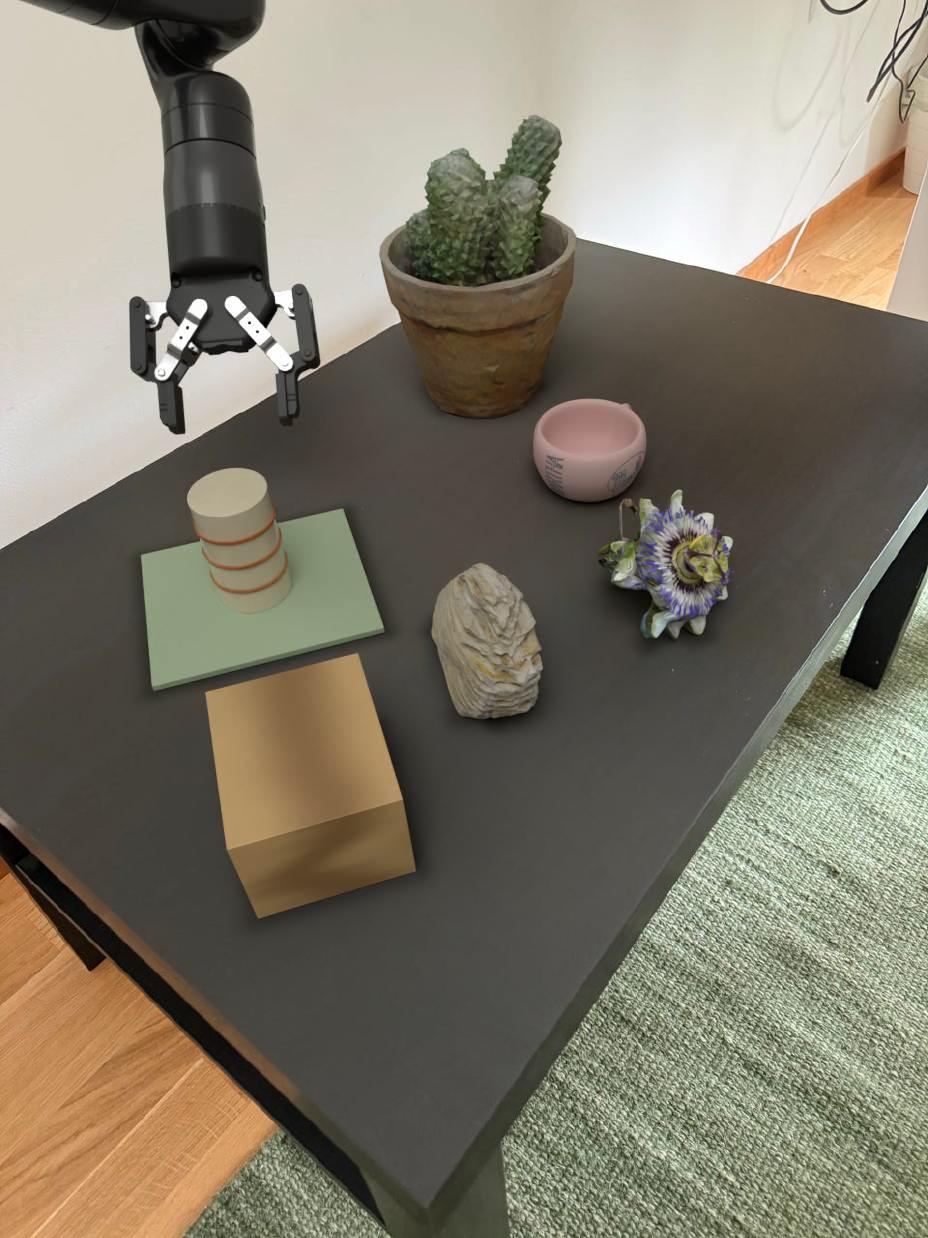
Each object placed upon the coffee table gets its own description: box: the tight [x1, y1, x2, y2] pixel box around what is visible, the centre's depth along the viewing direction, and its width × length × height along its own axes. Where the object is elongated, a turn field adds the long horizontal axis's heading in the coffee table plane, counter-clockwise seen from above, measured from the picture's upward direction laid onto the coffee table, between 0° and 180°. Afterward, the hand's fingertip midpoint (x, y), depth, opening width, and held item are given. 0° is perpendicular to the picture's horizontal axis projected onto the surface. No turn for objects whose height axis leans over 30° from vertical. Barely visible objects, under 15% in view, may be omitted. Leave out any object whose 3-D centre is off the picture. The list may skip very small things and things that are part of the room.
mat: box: [140, 508, 386, 692], centre depth 77 cm, size 18×16×1 cm
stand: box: [204, 652, 417, 920], centre depth 59 cm, size 10×12×8 cm
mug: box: [532, 398, 647, 503], centre depth 84 cm, size 12×10×6 cm
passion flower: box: [596, 489, 736, 641], centre depth 71 cm, size 11×11×12 cm
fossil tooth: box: [431, 562, 544, 720], centre depth 66 cm, size 12×6×15 cm
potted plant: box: [378, 114, 578, 419], centre depth 88 cm, size 18×19×25 cm
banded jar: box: [186, 467, 292, 613], centre depth 73 cm, size 6×6×10 cm
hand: (232, 428), depth 72 cm, fingers open, 8 cm apart
